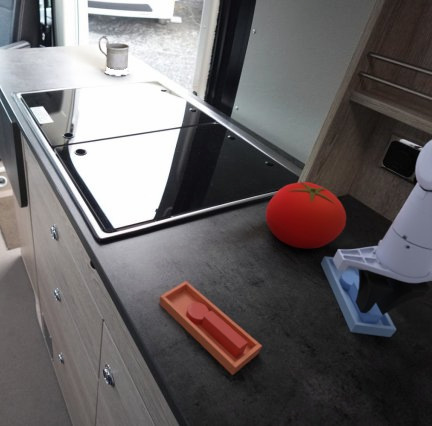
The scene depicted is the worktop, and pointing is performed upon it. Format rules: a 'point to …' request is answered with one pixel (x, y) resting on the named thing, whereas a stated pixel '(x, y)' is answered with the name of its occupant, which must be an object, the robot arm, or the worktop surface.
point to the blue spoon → (352, 285)
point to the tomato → (305, 215)
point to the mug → (116, 55)
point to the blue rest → (348, 307)
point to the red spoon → (216, 328)
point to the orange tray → (177, 307)
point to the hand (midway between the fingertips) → (368, 308)
